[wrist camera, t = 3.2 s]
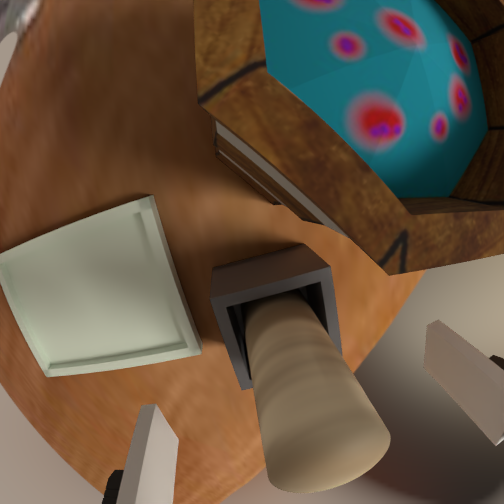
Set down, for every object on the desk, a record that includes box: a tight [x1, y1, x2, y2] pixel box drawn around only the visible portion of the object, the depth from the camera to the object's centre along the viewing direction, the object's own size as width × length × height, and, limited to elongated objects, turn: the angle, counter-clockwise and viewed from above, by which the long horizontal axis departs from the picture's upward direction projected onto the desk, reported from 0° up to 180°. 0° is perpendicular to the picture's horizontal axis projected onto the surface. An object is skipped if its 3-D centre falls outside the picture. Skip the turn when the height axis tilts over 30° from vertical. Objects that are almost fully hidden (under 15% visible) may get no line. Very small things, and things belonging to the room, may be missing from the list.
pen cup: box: [210, 244, 342, 390], centre depth 19 cm, size 7×7×6 cm
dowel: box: [241, 288, 390, 493], centre depth 15 cm, size 4×4×14 cm
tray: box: [0, 195, 203, 377], centre depth 20 cm, size 12×16×1 cm
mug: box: [193, 0, 504, 276], centre depth 11 cm, size 20×14×15 cm
